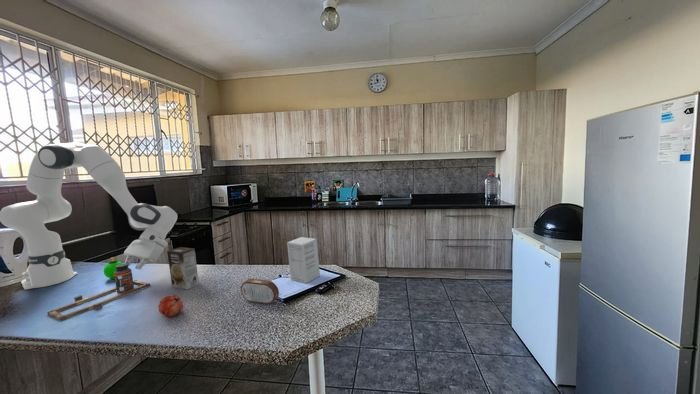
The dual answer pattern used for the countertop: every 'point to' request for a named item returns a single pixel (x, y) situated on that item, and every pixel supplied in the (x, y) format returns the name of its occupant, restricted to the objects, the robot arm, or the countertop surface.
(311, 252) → the supplement box
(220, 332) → the countertop surface
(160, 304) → the red round fruit
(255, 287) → the tin
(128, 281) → the supplement bottle
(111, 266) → the ornament
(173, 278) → the coffee box
